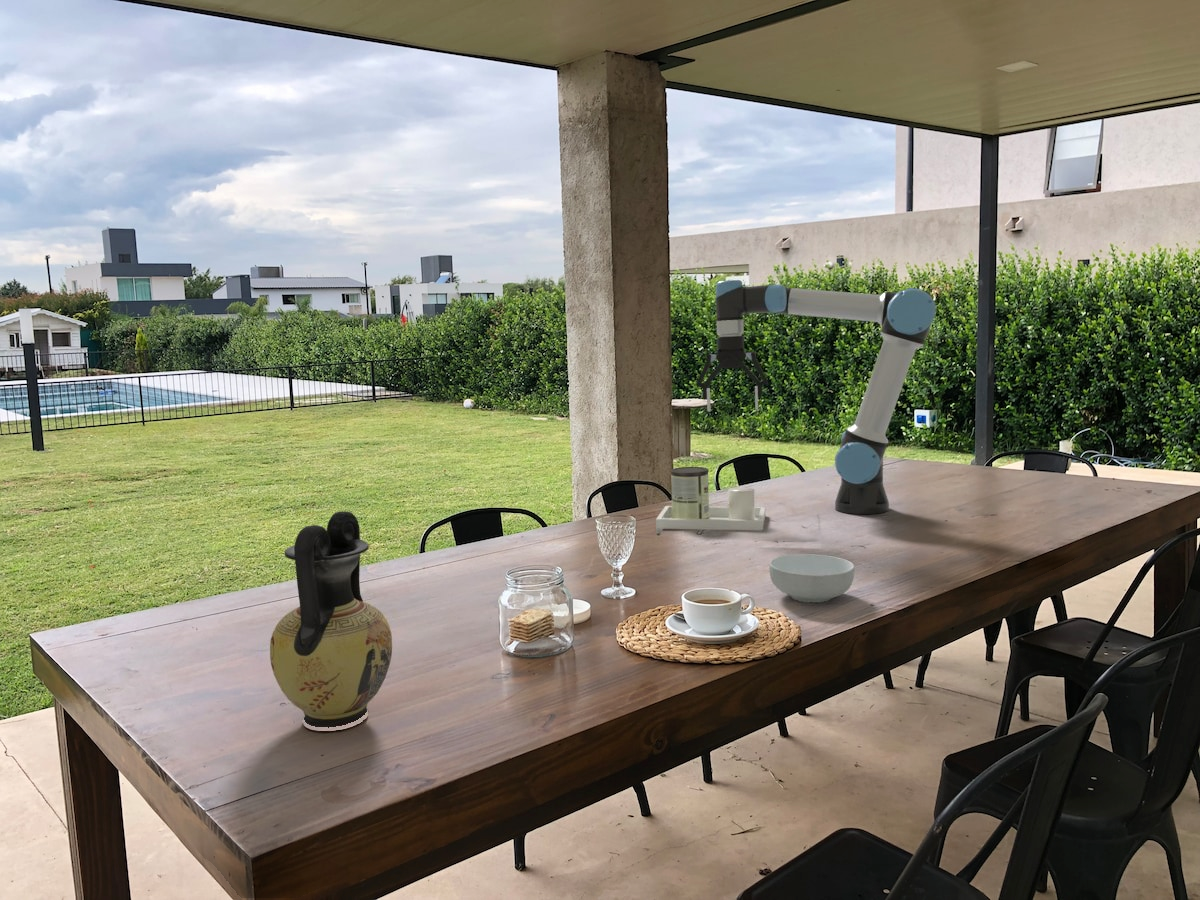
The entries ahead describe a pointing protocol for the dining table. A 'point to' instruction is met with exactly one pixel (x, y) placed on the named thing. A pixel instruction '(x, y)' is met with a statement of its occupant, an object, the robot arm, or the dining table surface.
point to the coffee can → (690, 493)
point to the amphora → (330, 629)
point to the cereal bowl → (811, 576)
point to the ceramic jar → (741, 503)
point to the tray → (710, 521)
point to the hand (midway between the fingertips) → (732, 410)
